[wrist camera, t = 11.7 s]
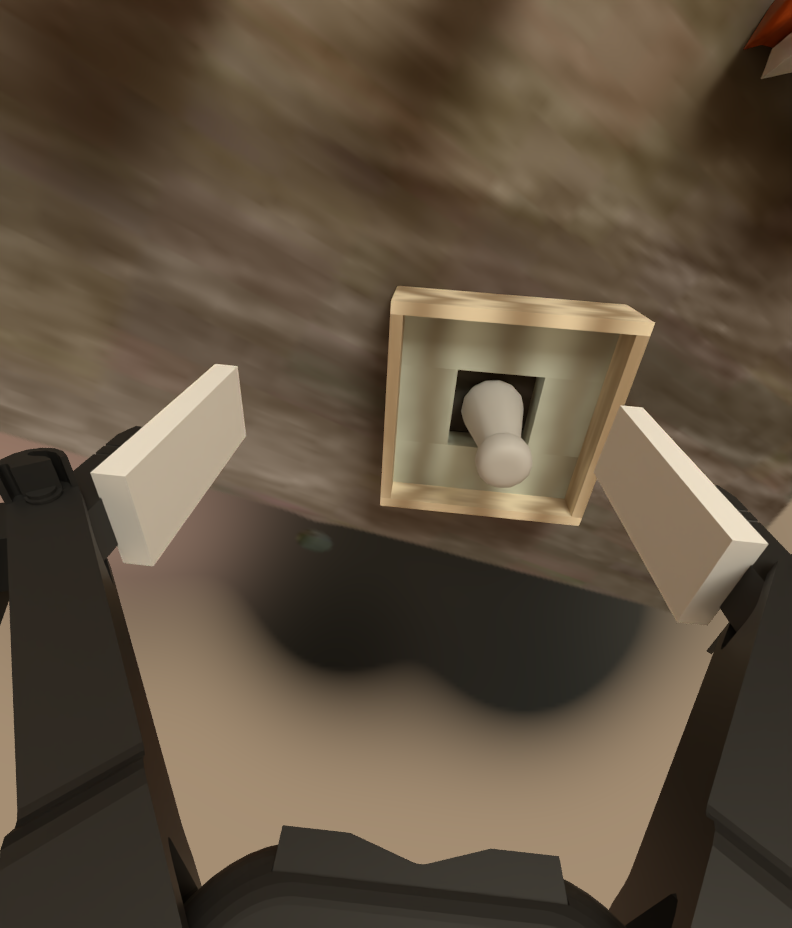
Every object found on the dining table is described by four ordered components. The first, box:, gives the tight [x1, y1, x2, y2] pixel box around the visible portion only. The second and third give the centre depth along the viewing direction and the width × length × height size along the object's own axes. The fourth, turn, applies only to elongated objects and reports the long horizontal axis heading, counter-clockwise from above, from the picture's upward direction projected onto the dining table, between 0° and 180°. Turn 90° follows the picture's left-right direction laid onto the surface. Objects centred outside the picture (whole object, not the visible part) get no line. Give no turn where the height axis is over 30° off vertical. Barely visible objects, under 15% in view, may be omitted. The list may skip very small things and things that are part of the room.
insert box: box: [380, 286, 655, 526], centre depth 41 cm, size 20×20×6 cm
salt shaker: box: [461, 380, 532, 488], centre depth 38 cm, size 6×6×13 cm
